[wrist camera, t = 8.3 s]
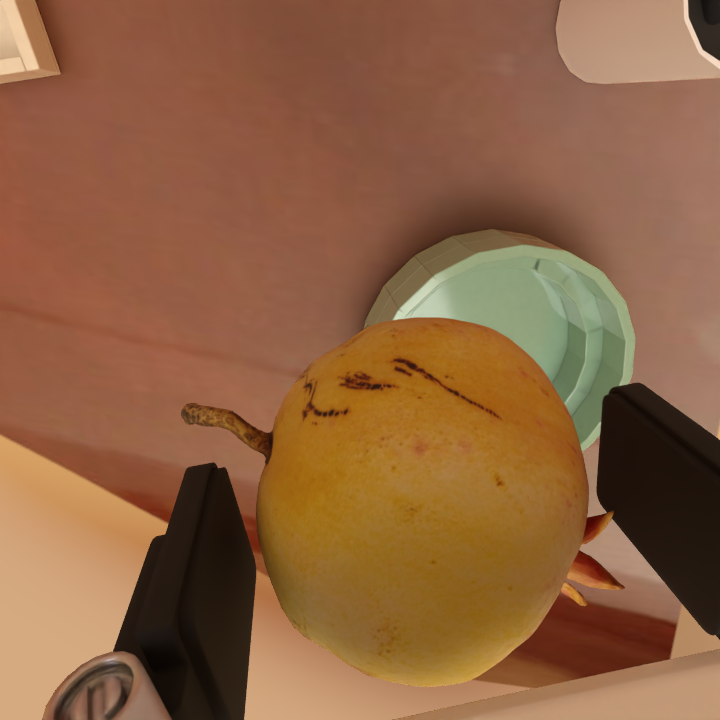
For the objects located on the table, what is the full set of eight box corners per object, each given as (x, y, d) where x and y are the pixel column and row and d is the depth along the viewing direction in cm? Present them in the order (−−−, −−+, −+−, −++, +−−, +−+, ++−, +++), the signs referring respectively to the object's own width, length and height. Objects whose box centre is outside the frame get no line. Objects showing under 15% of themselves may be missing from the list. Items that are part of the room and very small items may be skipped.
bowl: (376, 464, 36) (388, 513, 31) (341, 253, 29) (350, 275, 25) (583, 423, 37) (624, 465, 32) (593, 208, 30) (646, 222, 26)
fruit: (61, 672, 9) (536, 785, 11) (169, 400, 5) (848, 661, 7) (188, 403, 14) (485, 518, 17) (283, 181, 10) (648, 371, 13)
